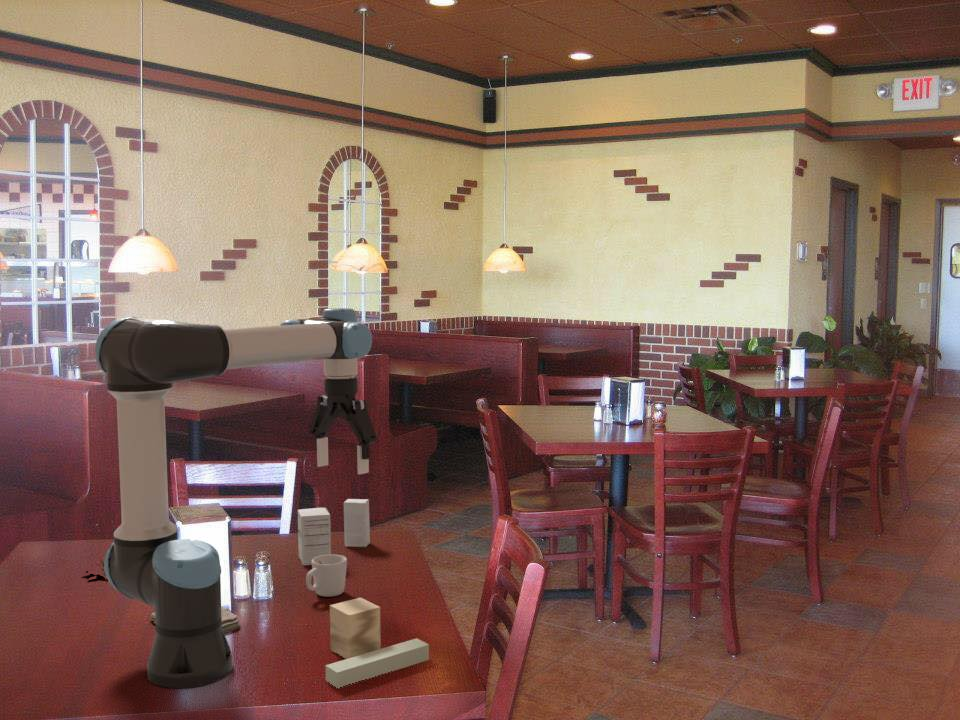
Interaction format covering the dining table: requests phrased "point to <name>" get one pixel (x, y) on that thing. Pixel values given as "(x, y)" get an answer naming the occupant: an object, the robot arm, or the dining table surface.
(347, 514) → the skincare box
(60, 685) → the dining table surface
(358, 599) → the block
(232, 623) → the washcloth
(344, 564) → the cup
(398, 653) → the pale grey bar
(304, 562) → the supplement box
